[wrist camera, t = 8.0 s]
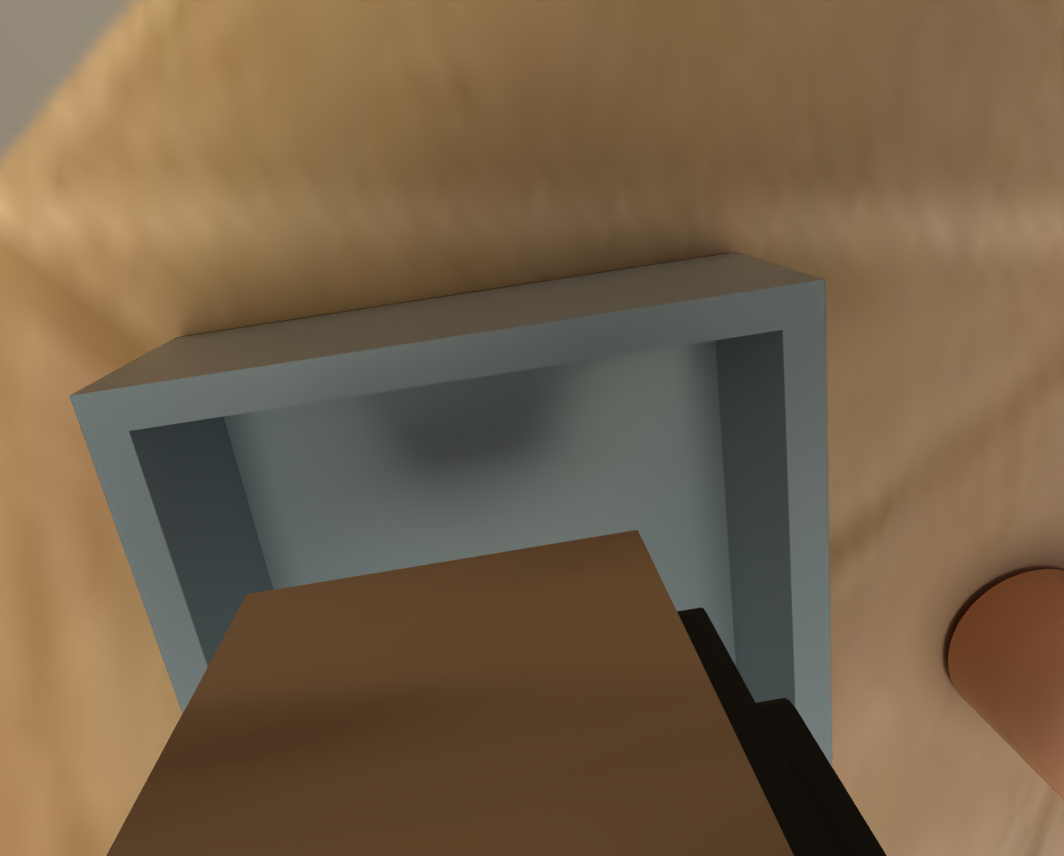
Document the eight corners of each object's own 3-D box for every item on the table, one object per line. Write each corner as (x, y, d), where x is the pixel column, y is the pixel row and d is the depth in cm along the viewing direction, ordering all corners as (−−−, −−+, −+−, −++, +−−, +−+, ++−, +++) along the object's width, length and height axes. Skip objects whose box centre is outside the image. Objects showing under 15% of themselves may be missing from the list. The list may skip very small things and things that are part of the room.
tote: (735, 252, 18) (824, 279, 14) (765, 812, 24) (834, 968, 19) (176, 337, 18) (69, 395, 13) (339, 883, 24) (305, 1059, 19)
